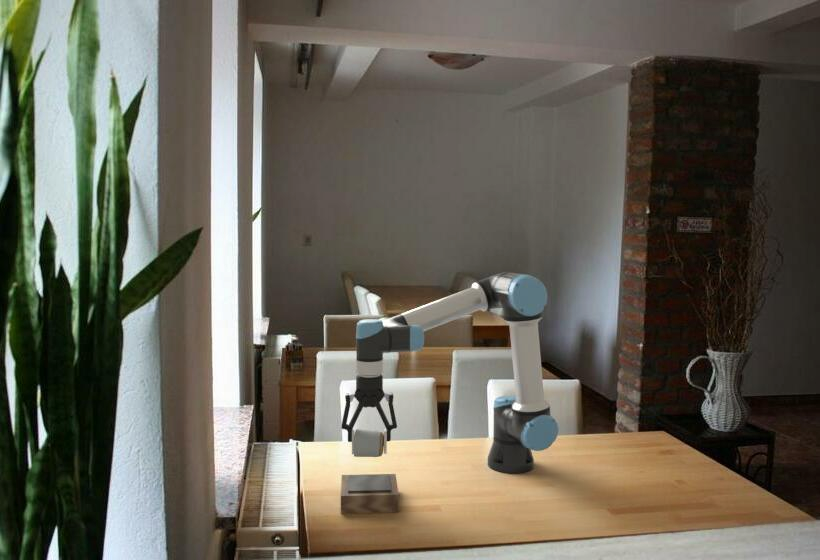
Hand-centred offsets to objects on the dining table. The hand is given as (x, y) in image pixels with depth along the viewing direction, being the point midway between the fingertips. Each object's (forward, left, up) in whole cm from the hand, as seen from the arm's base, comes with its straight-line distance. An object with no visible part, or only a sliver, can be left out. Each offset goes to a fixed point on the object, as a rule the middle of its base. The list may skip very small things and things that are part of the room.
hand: (369, 452), depth 208 cm
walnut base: (0, 0, -14) cm, 14 cm away
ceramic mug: (0, -1, -1) cm, 1 cm away
